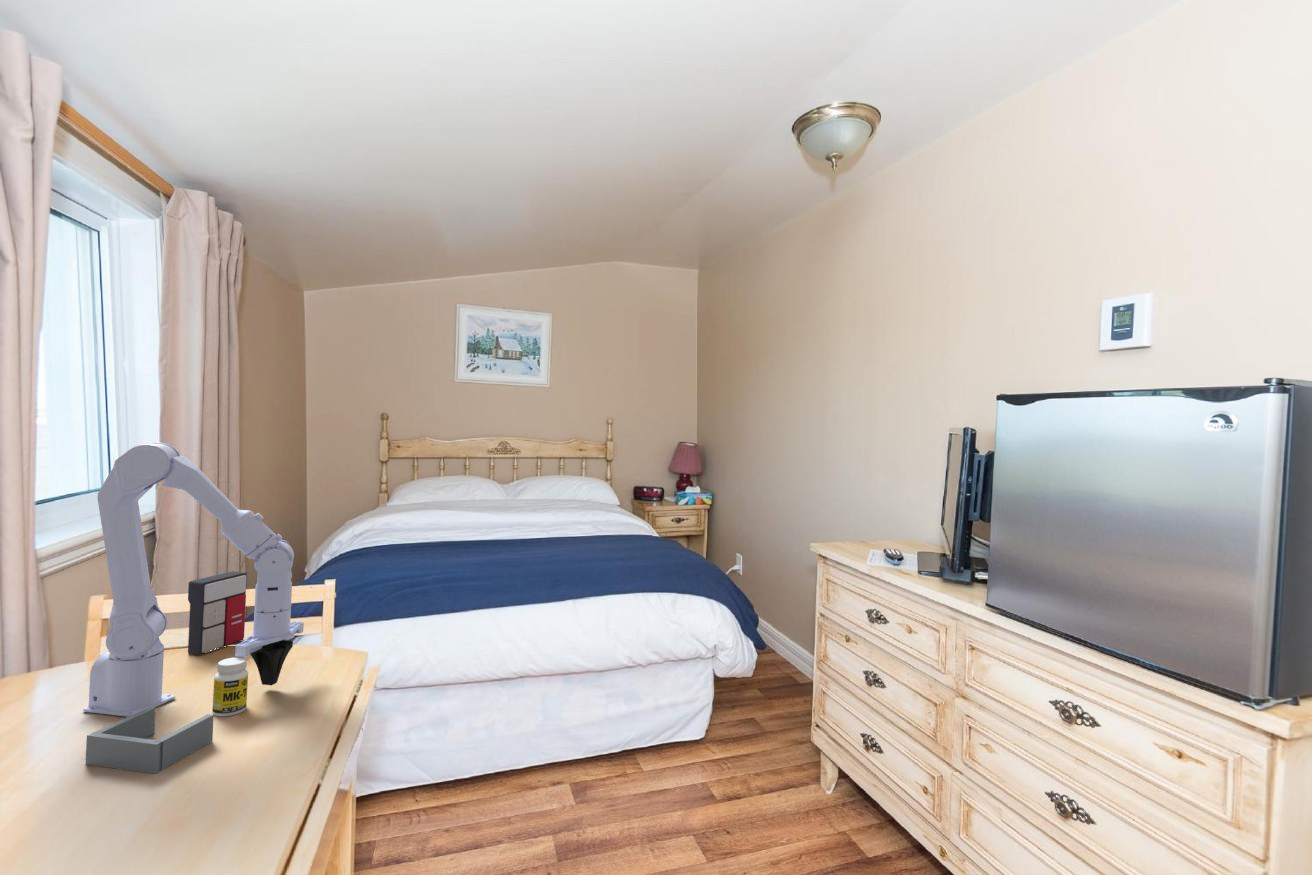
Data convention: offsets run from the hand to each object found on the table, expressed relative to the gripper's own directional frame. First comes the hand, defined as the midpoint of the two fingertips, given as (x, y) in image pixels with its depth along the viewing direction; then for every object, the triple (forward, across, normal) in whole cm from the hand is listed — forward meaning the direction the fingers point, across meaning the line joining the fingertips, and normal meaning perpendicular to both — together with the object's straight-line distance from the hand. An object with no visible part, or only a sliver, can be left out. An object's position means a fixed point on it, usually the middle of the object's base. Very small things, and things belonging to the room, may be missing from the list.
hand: (269, 683), depth 116 cm
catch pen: (+1, -23, 0) cm, 23 cm away
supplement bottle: (+1, -9, 0) cm, 9 cm away
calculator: (+1, +17, +26) cm, 31 cm away
